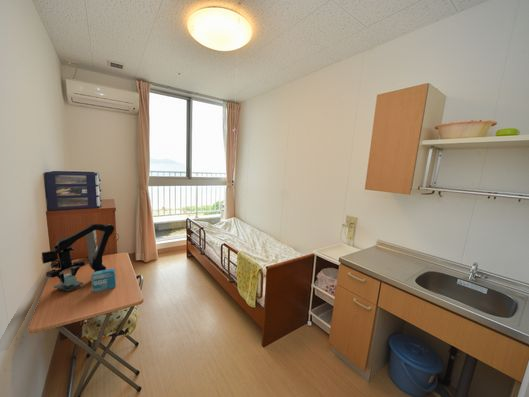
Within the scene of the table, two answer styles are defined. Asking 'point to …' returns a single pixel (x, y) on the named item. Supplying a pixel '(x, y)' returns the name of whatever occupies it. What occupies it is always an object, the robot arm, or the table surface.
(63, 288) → the stand
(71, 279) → the housing
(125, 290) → the table surface
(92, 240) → the cassette tape recorder
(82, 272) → the table surface
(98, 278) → the data package
